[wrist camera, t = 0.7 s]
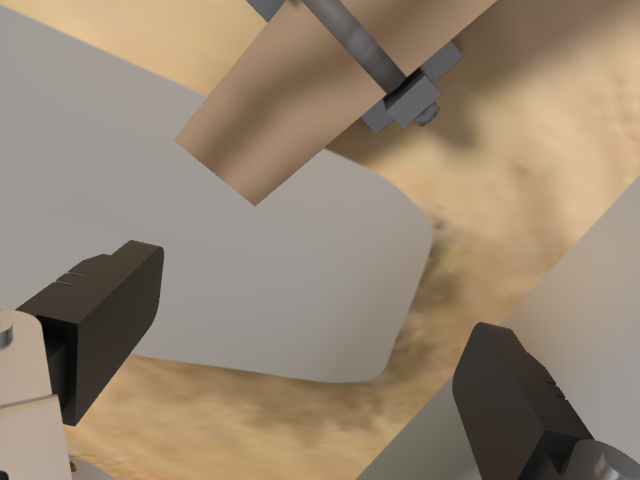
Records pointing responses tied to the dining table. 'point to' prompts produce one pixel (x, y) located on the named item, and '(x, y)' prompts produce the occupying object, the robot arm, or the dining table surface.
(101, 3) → the dining table surface
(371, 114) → the seesaw stand
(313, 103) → the tan wooden flat board
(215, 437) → the dining table surface
